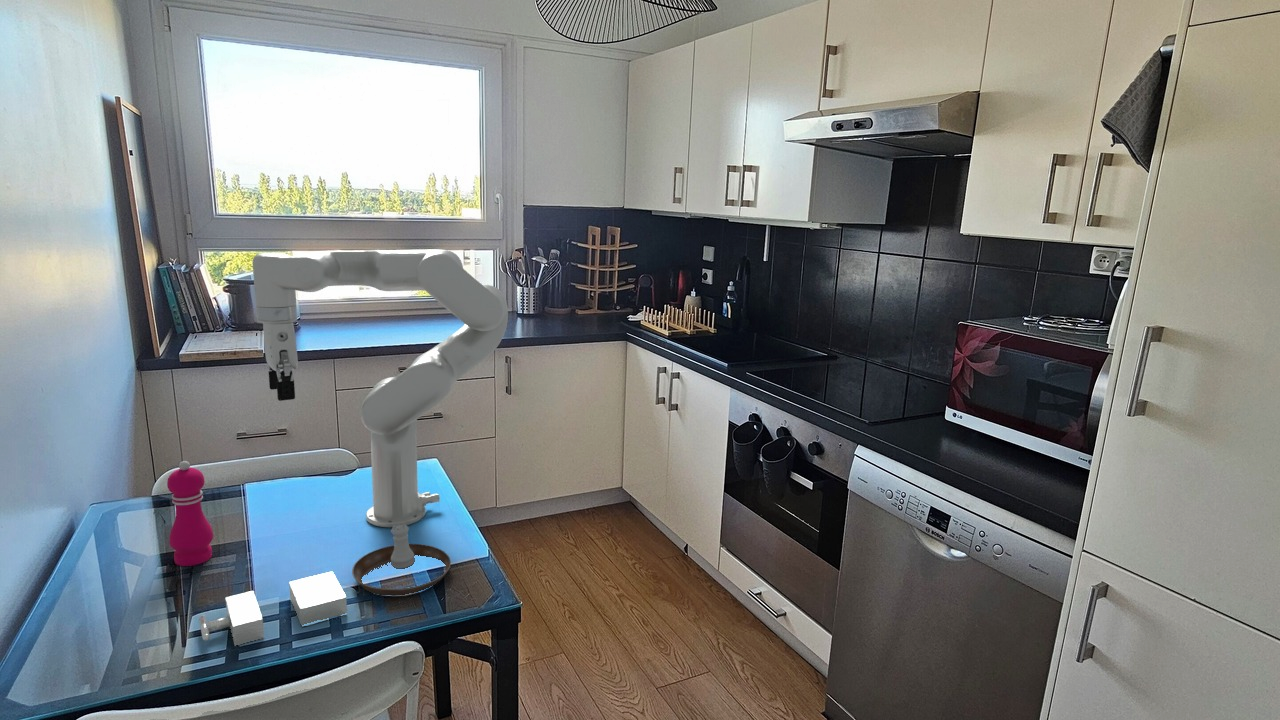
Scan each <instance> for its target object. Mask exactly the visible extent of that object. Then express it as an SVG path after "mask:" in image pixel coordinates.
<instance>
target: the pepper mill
mask: <svg viewBox="0 0 1280 720" xmlns="http://www.w3.org/2000/svg"><path fill="white" fill-rule="evenodd" d="M190 466H191V465H190V462H189V461H187V460H183V461H181V462H179V463H178V467H179V468H178V469H177V470H174V471H173V472H171V474H170V475H169V476H168V478H167V484H166V486H167V489H168V491H169V492H170V493H172V495H171V499H172V501H171V502H172V504H173V505H174V506H175V519H174V523H173V525H172V527H171V530H170V533H169V546H170V547H171V548H172V549H173V550H174V553H173V559H174V563H175V565H177V566H180V567H191V566H196V565H200V564H203V563H206V562H207V561H209V560H210V559H211V558H212V556H213V550H212V549H213V548H212V546H211V543H212V541H213V540H214V532H213V531H214V530H213V527H212V526H211V524H210V522H209V520H208V519H207V518H206V517H205V514H204V512H203V509H202V500H203V498H204V496H203V494H204V493H203V491H202V488H203V487H204V485H205V476H204V474H203V473H202V471H201V470H200V469H198V468H195V467H190Z"/></svg>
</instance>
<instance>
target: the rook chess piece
mask: <svg viewBox="0 0 1280 720" xmlns="http://www.w3.org/2000/svg"><path fill="white" fill-rule="evenodd" d="M409 530H410V527H409V525H407V524H406V523H404V522H402V524H400V523H399V522H398V523H397V525H396V524H394V525H393V526H392V527H391V530H390V533H391V534H392V535H393V537H392V540H393V545H394V551H393V553H392V556H391V565H392V566H393V567H394V568H396V569H405V568H408V567H410V566H412V565H413V564H414V562H415V558H414V556H415V555H414V553H413V552H412V550H411V549H410V547H409V544H410V543H409V534H408V532H409Z"/></svg>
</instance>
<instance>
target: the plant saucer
mask: <svg viewBox="0 0 1280 720" xmlns="http://www.w3.org/2000/svg"><path fill="white" fill-rule="evenodd" d="M409 547H410V549H411V550H412V552H413V553H414V555H418V556H419V555H420V556H426V557H432V558H436V559H438V560H441V561H442V562H443V563H444V564H445V565H446V572H445V573H444V574H443V575H441V576H440V577H438V578H437V579H435V580H433V581H431V582H429V583H426V584H423V585H420V586H416V587H410V588H403V589H383V588H376V587H371V586H368V585H366V584H363V583H362V580H361V579H362V577H363V576H364V575H366V574H367V575H368V573H369V572H370V571H371V570H372V571H373V570H374V568H375V569H376V568H377V569H379V568H380V567H381V565H382V566H383V565H384V564H385V565H387V563H388V562H389V563H390V562H391V556H392V553H393V551H394V544H393V545H389V546H384V547H381V548H378V549H374V550H373V551H370V552H368V553H367V554H364V555H362V556H361V557H360V558H359V559H358V560H357V561H356V562H355V563H354V565H353V567H352V569H351V574H352V577H353V578H354V579H355V581H356V582H357V584H358V585H359V586H360V587H362V588H363V589H364V590H365V591H367V592H368V591H369V592H368V593H370V592H371V594H372V593H375V594H379V595H405V594H409V593H414V592H418V591H421V590H424V589H426V588H429V587H430V586H432V585H434V584H435V583H437V582H438V581H439V582H440V581H441V580H443V578H444V577H445V576H446V574H447V573H448V571H449V569H450V567H451V563H452V561H451V558H450V556H449V554H448V553H446V551H444V550H442V549H441V548H438V547H435V546H431V545H427V544H423V543H422V544H420V543H409ZM387 566H388V565H387ZM378 567H379V568H378ZM381 568H382V567H381ZM372 571H371V572H372ZM439 582H438V583H439ZM438 583H437V584H438ZM375 594H374V595H375Z"/></svg>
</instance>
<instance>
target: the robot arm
mask: <svg viewBox="0 0 1280 720" xmlns="http://www.w3.org/2000/svg"><path fill="white" fill-rule="evenodd" d="M252 272H253V273H252V275H253V288H254V298H255V301H254V302H255V315H256V322H257V323H259V324H262V328H263V329H262V330H263V342H264V343H263V345H264V353H265V354H264V355H265V361H266V363H267V365H268V381H269V383H268V384H269V389H270V390H271V391H272V390H276V392H277V393H276V394H277V400H278V401H280V402H282V401H290V400H294V399H296V390H295V387H296V386H295V380H294V379H295V378H294V373H293V369H294V370H297V369H298V368H299V362H298V361H299V358H298V357H299V356H298V349H297V339H296V332H295V327H294V323H296V322H297V321H298V312H297V311H298V310H297V307H298V306H297V298H296V297H297V294H296V292H297V291H298V292H304V293H315V292H318V291H321V290H323V289H325V288H327V287H334V286H335V287H338V286H340V287H341V286H342V287H343V286H361V287H362V286H363V287H364V286H365V287H371V288H374V289H376V290H379V291H383V292H404V291H405V292H406V291H407V292H409V291H411V292H412V291H425V292H426V293H427V294H429V296H431V297H432V298H433V299H434V300H435V301H436V302H438V303H439V305H440V306H442V307H444V308H445V309H446V310H447V311H449V312H450V313H451V314H452V315H453V316H455V317H456V318H457V319H458V320H459V321H461V322H462V323H463V325H462V326H461V327H460V328H459V329H458V330H456V331H454V333H452V334H451V335H449V336H448V337H447V338H445V339H444V340H443V341H441V342H440V343H438V344H436V345H435V346H434V347H432V348H431V349H429V350H428V351H427V350H426V352H424V353H422V354H420V355H419V356H417V357H416V358H415V359H414V360H413V361H412V363H411V365H410V366H408V367H407V368H406V369H405V370H403V371H402V372H400V373H399V374H398V375H396V376H392V377H391V376H390V377H386V378H383V379H382V380H380V381H379V382H377V383H376V384H375V385H374V386H373V387H372V389H371V390H370V391H369V393H368V394H367V395H366V397H365V398H364V399H363V401H362V404H361V407H360V411H359V413H360V414H359V415H360V421H361V422H362V425H364V427H365V428H366V429H367V430H368V431H370V449H371V450H370V454H371V455H370V456H371V458H370V459H371V460H370V461H371V480H372V481H371V483H372V504H373V505H372V506H371V507H370V508H369V509H368V510H366V513H365V516H366V520H367V522H368V523H369V524H370V525H373V526H376V527H382V528H393V527H392V526H393V525H394V524H396V525H397V523H398V522H399V523H400V524H402V522H404V523H406V524H407V526H409V525H413V524H414V523H417V522H419V521H420V520H422V519H423V518H424V517H425V515H426V506H427V505H428V504H435V503H438V502H441V501H440V500H441V499H440V498H441V497H440V494H439V493H433V494H431V493H430V491H428V492H422V493H419V489H418V488H419V487H418V486H419V485H418V455H417V454H418V444H417V443H418V442H417V440H418V439H417V429H418V428H417V425H418V423H417V422H418V419H419V418H420V417H422V416H424V415H425V414H426V413H428V412H429V411H431V410H432V409H433V408H435V407H436V406H438V405H439V404H440V403H441V402H442V401H444V400H445V398H447V396H448V395H449V394H450V392H451V390H452V388H453V386H454V385H455V383H456V382H457V381H458V380H459V379H461V378H462V377H464V375H466V374H467V373H469V372H470V371H471V370H473V369H474V368H476V366H479V364H481V363H482V362H483V361H484V360H486V359H487V358H489V356H490V355H492V354H493V352H494V351H495V350H497V348H498V346H499V345H500V343H501V341H502V340H503V337H504V335H505V333H506V330H507V326H508V322H509V321H508V320H509V310H508V309H509V308H508V303H507V302H508V301H507V299H506V296H505V294H503V292H502V291H501V290H500V289H499V288H498V287H496V286H493V285H490V284H484V285H483V284H482V283H480V281H478V280H477V279H476V278H474V277H473V276H472V275H471V274H470V273H469V272H468V271H466V269H464V266H463V263H462V260H461V259H460V257H459V255H458V254H456V253H454V251H451V250H447V249H395V250H394V249H389V250H388V249H377V250H376V249H375V250H334V251H333V250H331V251H330V250H327V251H326V250H325V251H322V250H321V251H315V252H311V253H310V252H309V253H308V254H303V255H297V256H291V255H290V254H287V253H280V252H279V253H278V252H266V253H264V252H263V253H258V254H255V256H254V257H253V258H252ZM292 368H293V369H292Z"/></svg>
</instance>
